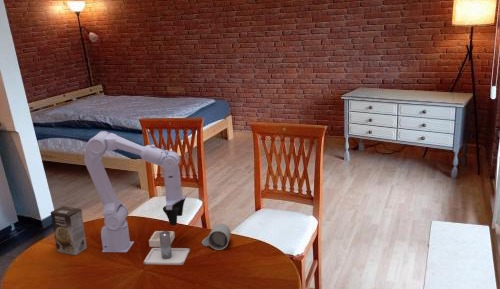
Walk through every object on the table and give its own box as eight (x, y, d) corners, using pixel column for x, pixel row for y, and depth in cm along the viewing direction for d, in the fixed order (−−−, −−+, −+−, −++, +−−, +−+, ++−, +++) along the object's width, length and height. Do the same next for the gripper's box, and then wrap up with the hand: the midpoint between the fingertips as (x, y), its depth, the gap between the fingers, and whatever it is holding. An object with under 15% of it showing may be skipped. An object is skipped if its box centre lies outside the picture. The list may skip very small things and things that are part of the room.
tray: (143, 265, 154) (143, 262, 153) (152, 250, 163) (152, 247, 163) (183, 266, 152) (182, 262, 152) (189, 251, 162) (189, 248, 161)
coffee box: (56, 252, 165) (49, 212, 161) (69, 244, 171) (62, 205, 167) (75, 256, 162) (68, 215, 158) (87, 247, 168) (81, 208, 163)
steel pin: (159, 258, 156) (157, 235, 154) (164, 253, 160) (162, 230, 157) (169, 259, 155) (166, 236, 153) (173, 254, 159) (171, 231, 156)
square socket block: (149, 247, 166) (148, 240, 165) (155, 238, 173) (155, 231, 172) (169, 248, 165) (168, 240, 164) (174, 238, 172) (174, 231, 171)
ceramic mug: (231, 239, 169) (230, 221, 167) (229, 250, 161) (227, 230, 159) (204, 239, 170) (202, 221, 168) (200, 250, 162) (198, 231, 160)
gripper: (178, 193, 153) (181, 229, 156) (188, 178, 166) (191, 211, 170) (158, 192, 153) (162, 228, 157) (170, 178, 167) (173, 211, 171)
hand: (176, 220), depth 164 cm, fingers open, 7 cm apart
